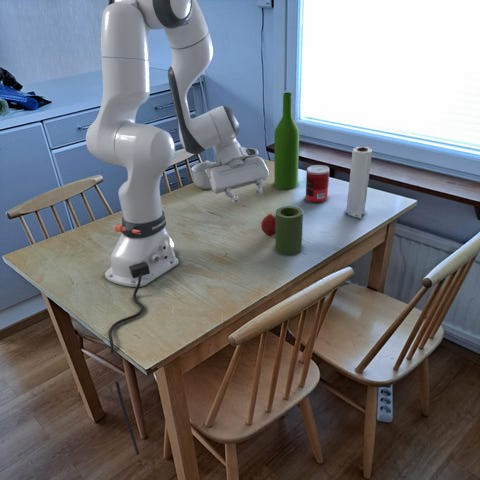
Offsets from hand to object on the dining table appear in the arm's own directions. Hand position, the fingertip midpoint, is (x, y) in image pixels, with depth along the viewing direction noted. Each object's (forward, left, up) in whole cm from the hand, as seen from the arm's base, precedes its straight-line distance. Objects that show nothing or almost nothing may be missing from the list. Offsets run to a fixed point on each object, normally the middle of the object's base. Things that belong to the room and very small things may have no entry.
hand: (248, 197), depth 150 cm
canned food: (+25, -15, -9) cm, 31 cm away
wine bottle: (+33, 0, -9) cm, 34 cm away
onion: (-7, -11, -9) cm, 15 cm away
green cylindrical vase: (-12, -19, -8) cm, 24 cm away
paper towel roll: (+18, -31, -9) cm, 37 cm away
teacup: (+23, +29, -9) cm, 38 cm away
